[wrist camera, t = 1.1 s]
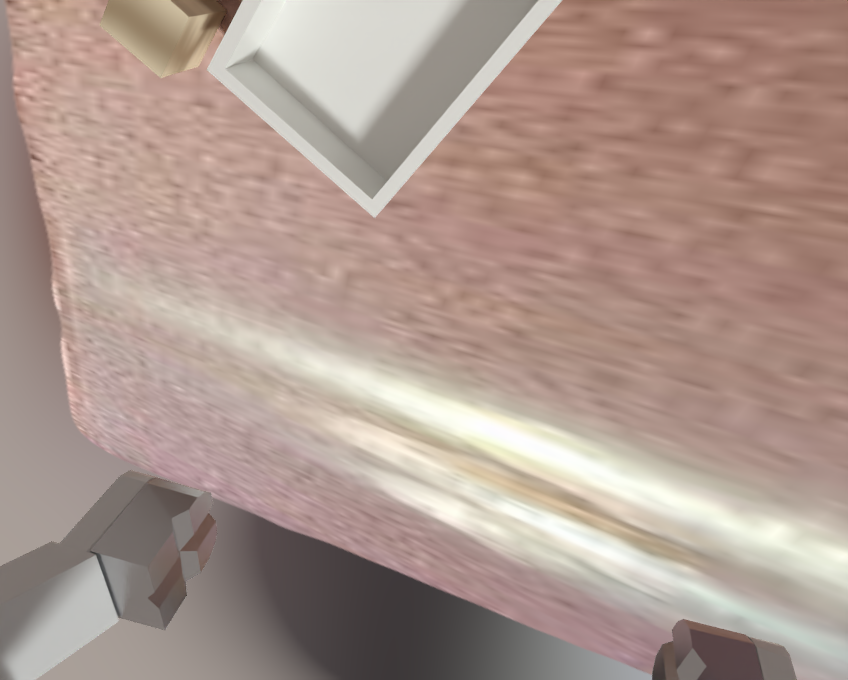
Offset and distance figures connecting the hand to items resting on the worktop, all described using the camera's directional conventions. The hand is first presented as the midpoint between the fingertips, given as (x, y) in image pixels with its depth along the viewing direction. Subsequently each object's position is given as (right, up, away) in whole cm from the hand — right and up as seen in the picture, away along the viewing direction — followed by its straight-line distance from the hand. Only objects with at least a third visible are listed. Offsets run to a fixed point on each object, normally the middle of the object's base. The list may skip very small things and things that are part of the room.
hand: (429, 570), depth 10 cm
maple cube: (-18, +28, +33) cm, 47 cm away
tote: (-2, +26, +30) cm, 40 cm away
